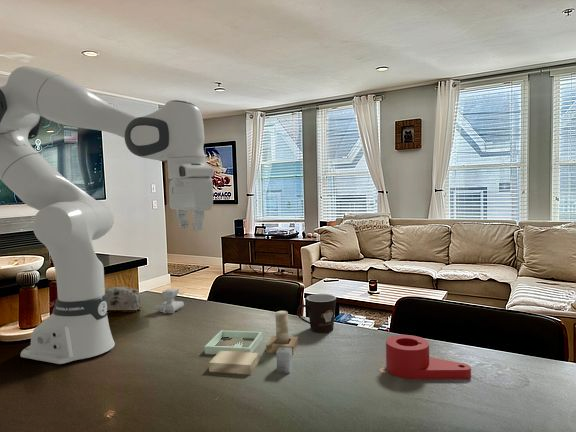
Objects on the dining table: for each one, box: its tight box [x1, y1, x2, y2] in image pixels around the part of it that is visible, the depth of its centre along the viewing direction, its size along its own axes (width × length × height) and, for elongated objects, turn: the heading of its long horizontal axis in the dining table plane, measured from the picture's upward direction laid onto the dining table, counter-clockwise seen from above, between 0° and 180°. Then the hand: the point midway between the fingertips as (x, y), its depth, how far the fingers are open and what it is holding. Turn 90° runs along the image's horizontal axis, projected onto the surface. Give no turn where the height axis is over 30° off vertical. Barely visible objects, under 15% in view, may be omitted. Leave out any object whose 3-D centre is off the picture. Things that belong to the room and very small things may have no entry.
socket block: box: [265, 335, 299, 355], centre depth 109 cm, size 7×7×2 cm
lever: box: [385, 334, 472, 380], centre depth 94 cm, size 18×9×7 cm, turn 72°
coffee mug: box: [296, 293, 337, 334], centre depth 122 cm, size 12×9×10 cm
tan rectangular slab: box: [208, 351, 260, 376], centre depth 99 cm, size 10×7×3 cm
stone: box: [105, 286, 141, 310], centre depth 145 cm, size 13×6×10 cm, turn 76°
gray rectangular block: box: [275, 347, 293, 374], centre depth 96 cm, size 3×3×5 cm
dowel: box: [274, 310, 290, 344], centre depth 108 cm, size 3×3×10 cm
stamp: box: [156, 288, 185, 314], centre depth 144 cm, size 9×7×8 cm
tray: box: [204, 329, 263, 355], centre depth 111 cm, size 12×12×2 cm
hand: (190, 229), depth 100 cm, fingers open, 8 cm apart
